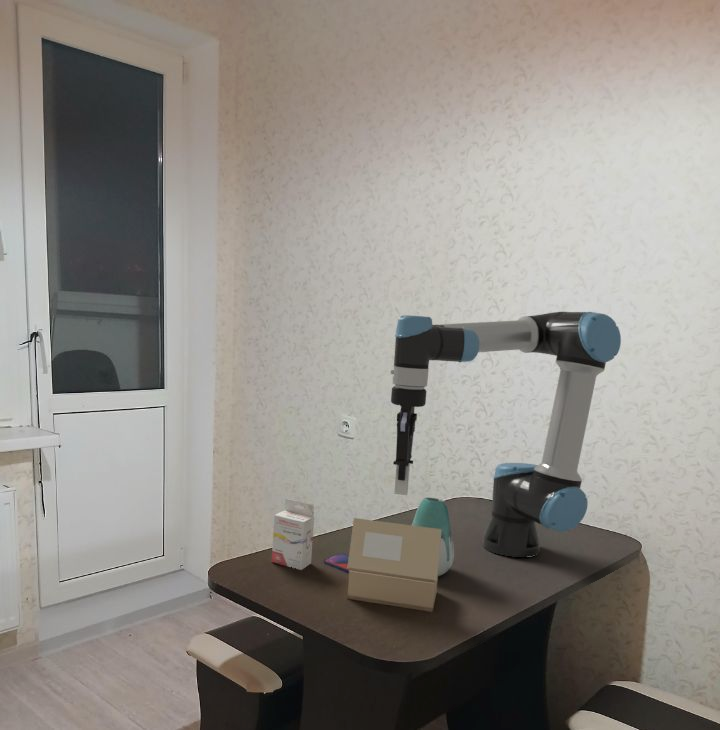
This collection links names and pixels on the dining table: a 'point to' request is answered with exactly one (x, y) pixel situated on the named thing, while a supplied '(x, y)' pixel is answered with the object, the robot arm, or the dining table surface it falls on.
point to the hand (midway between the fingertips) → (400, 493)
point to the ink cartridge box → (293, 535)
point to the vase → (437, 517)
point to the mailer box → (392, 591)
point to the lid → (395, 550)
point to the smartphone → (338, 562)
